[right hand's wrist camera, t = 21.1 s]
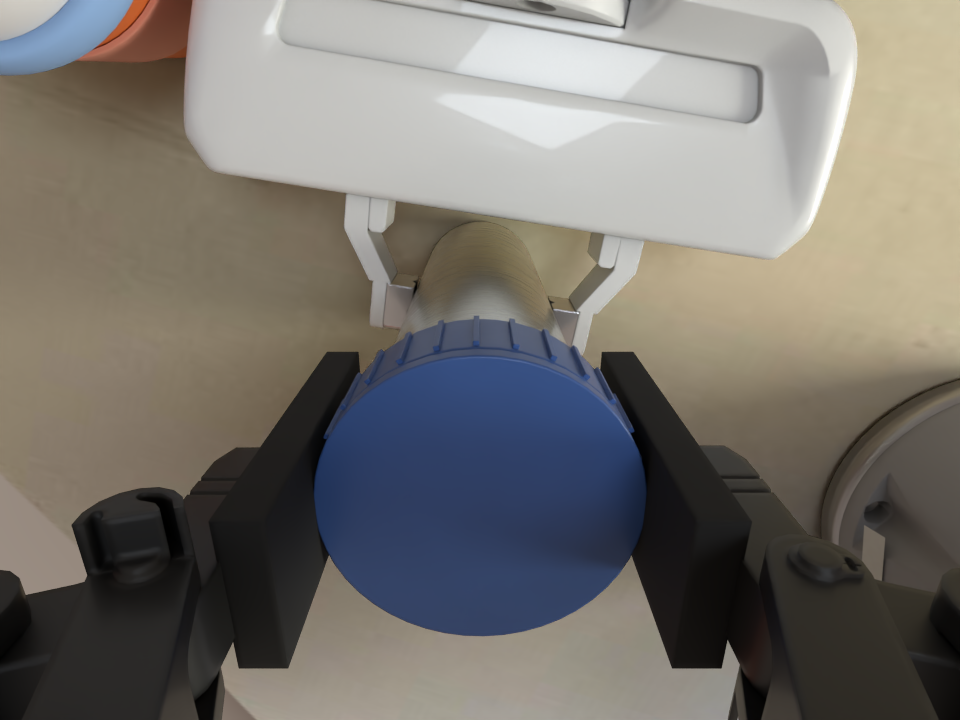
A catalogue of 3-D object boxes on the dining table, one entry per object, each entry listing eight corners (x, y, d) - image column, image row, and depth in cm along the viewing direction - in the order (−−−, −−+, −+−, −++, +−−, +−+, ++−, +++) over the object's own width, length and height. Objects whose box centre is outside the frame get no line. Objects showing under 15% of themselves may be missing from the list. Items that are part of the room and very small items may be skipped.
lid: (475, 248, 11) (473, 273, 9) (684, 447, 12) (722, 506, 10) (277, 456, 12) (240, 516, 10) (484, 609, 14) (485, 685, 12)
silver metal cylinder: (437, 332, 28) (380, 602, 12) (417, 230, 27) (317, 384, 10) (539, 317, 28) (621, 572, 12) (526, 213, 26) (601, 343, 10)
